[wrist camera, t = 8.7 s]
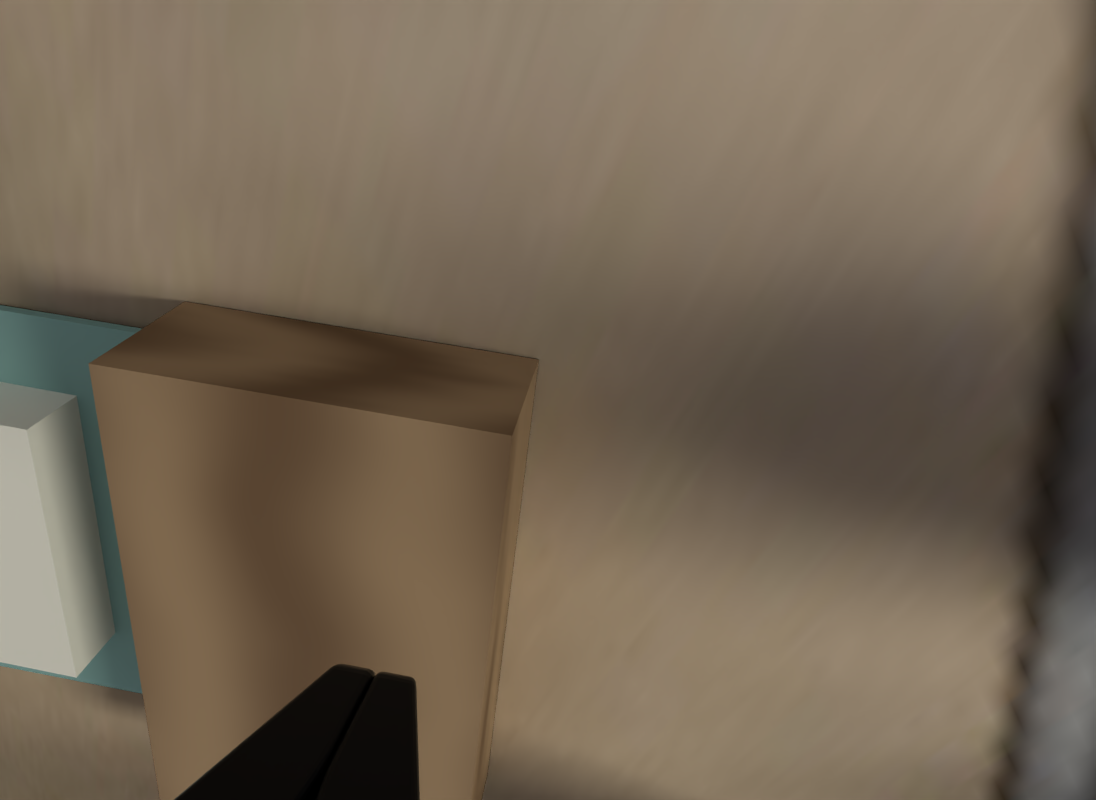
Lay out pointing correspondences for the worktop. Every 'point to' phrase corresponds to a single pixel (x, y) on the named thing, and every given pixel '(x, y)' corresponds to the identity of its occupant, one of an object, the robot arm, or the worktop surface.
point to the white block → (48, 537)
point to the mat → (63, 366)
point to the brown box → (312, 525)
